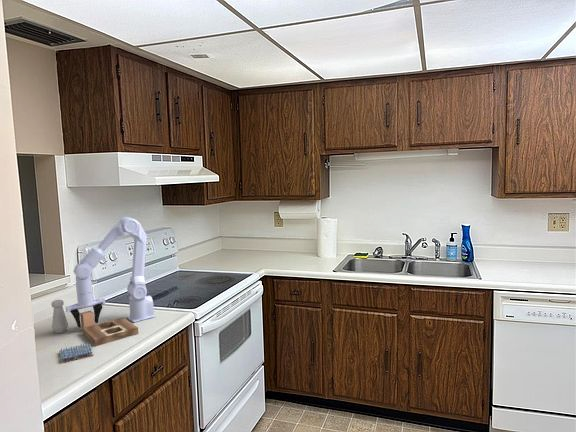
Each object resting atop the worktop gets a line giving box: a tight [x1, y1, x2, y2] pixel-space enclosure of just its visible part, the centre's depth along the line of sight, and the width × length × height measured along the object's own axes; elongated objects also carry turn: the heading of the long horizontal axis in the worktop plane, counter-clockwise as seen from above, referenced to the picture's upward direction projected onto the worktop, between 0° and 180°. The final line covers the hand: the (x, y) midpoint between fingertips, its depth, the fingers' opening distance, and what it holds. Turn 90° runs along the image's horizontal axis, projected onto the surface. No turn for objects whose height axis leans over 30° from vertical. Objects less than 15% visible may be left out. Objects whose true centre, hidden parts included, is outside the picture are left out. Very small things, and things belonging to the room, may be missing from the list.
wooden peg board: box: [82, 317, 140, 347], centre depth 167 cm, size 16×16×3 cm
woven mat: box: [58, 343, 95, 364], centre depth 150 cm, size 10×11×2 cm
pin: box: [80, 310, 96, 331], centre depth 173 cm, size 4×4×7 cm
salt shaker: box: [50, 299, 69, 334], centre depth 171 cm, size 6×6×13 cm
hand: (88, 324), depth 173 cm, fingers open, 6 cm apart
